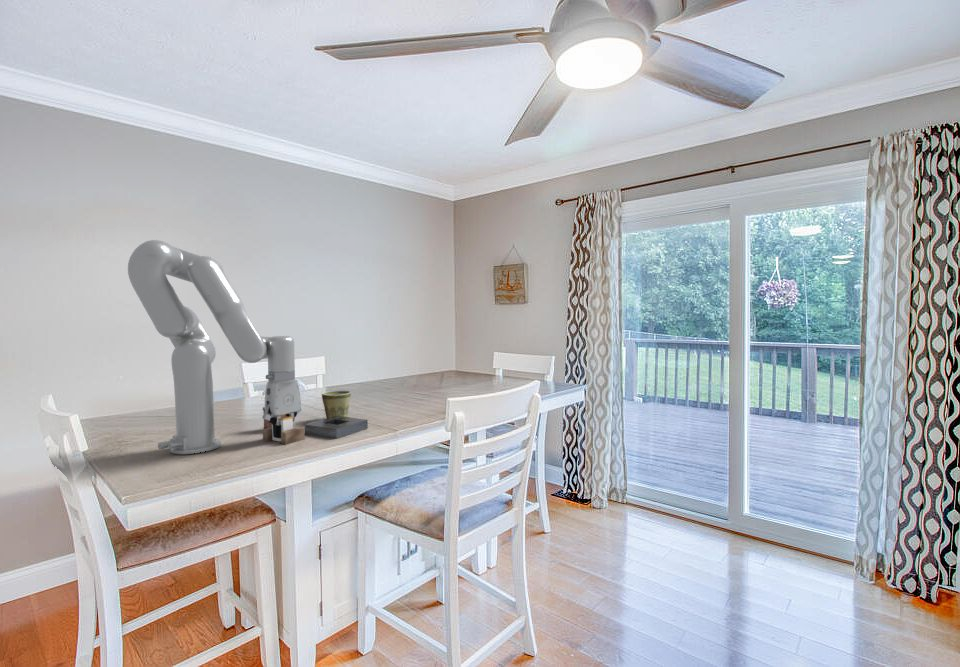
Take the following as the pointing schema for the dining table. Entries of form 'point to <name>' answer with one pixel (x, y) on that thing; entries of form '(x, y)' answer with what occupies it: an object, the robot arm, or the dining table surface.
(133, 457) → the dining table surface
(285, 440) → the holster
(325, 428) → the port block
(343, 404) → the green plant pot
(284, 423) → the white orange-topped block
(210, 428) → the robot arm
